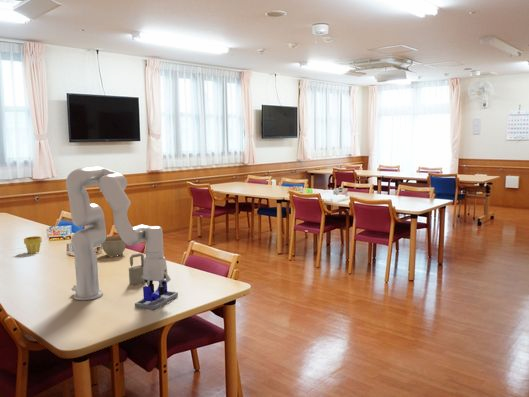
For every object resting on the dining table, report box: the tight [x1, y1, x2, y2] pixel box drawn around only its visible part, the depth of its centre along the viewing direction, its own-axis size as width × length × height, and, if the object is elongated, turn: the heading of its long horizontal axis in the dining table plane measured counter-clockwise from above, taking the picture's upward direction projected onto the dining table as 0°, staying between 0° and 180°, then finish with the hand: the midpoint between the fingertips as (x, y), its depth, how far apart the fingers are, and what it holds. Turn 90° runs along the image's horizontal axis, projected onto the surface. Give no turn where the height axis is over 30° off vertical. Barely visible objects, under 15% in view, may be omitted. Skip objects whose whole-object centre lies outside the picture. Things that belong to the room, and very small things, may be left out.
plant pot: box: [23, 235, 43, 254], centre depth 293 cm, size 10×10×10 cm
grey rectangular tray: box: [134, 290, 179, 312], centre depth 200 cm, size 10×18×2 cm, turn 159°
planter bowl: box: [100, 235, 127, 257], centre depth 283 cm, size 16×16×11 cm
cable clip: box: [142, 283, 168, 302], centre depth 199 cm, size 12×4×6 cm, turn 151°
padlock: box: [128, 252, 146, 286], centre depth 227 cm, size 4×8×15 cm, turn 132°
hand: (156, 293), depth 200 cm, fingers closed on cable clip, 4 cm apart
